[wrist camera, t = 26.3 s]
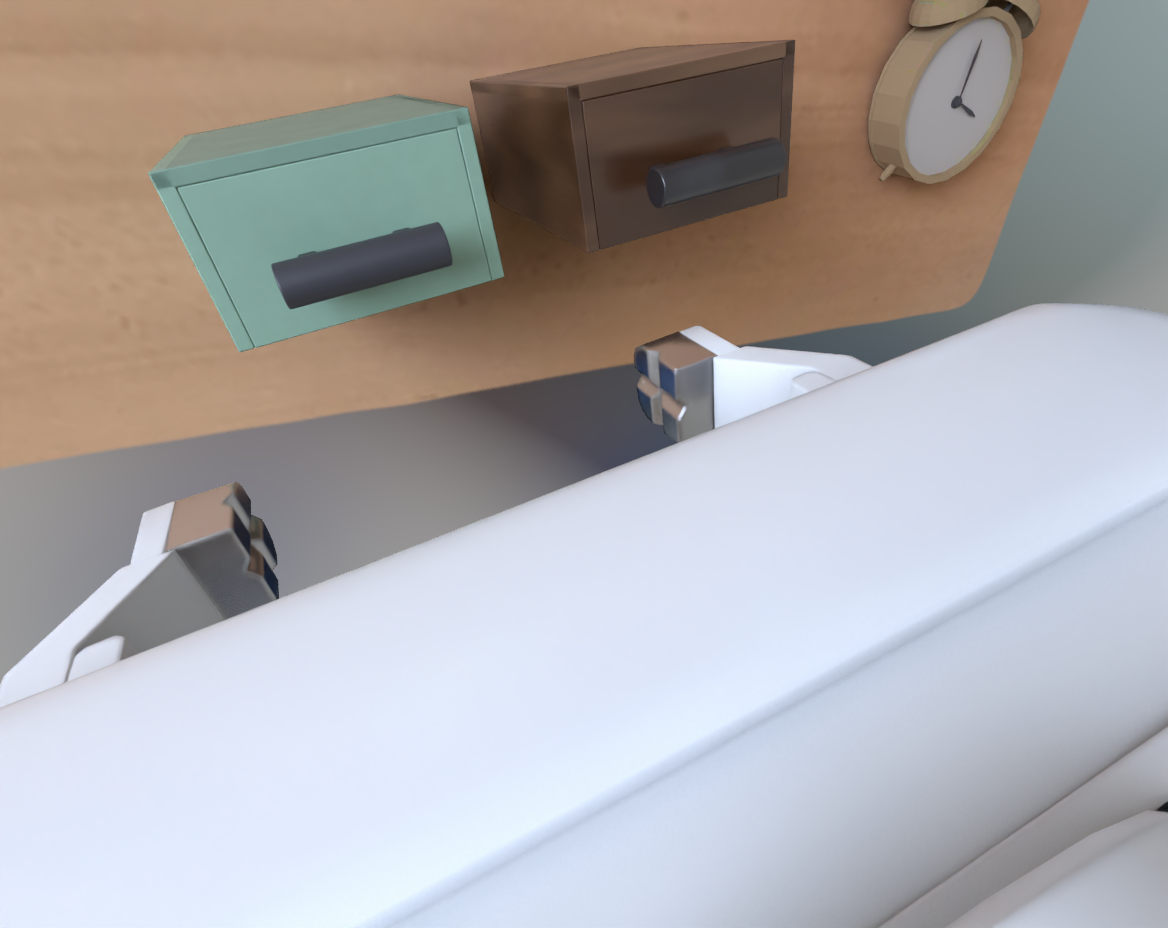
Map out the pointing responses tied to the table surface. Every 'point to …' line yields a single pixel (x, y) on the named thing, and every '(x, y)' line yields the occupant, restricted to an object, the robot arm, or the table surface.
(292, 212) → the sage shelf
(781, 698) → the robot arm
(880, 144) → the alarm clock
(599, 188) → the walnut shelf
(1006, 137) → the table surface
